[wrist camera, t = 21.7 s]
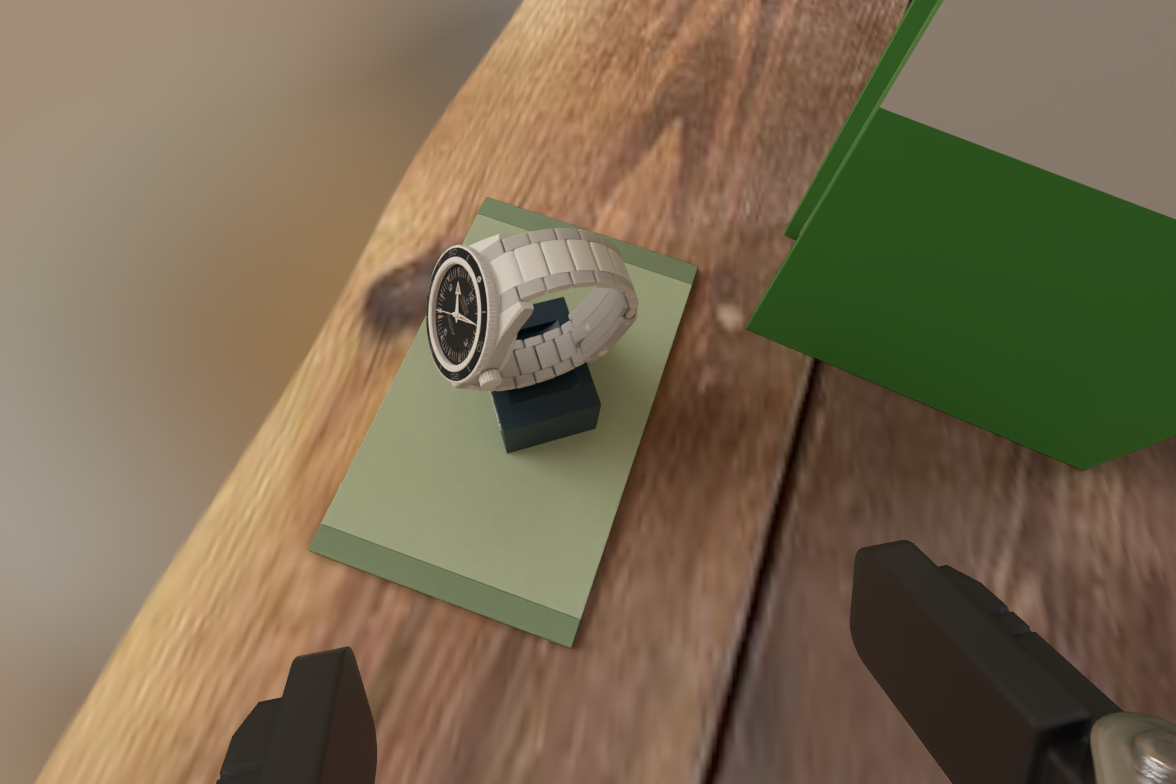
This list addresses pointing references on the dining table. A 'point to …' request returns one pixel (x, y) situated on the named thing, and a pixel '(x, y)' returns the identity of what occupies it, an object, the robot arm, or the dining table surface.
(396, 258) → the dining table surface
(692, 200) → the dining table surface
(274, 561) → the dining table surface
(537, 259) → the watch
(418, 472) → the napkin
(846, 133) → the hardback book
